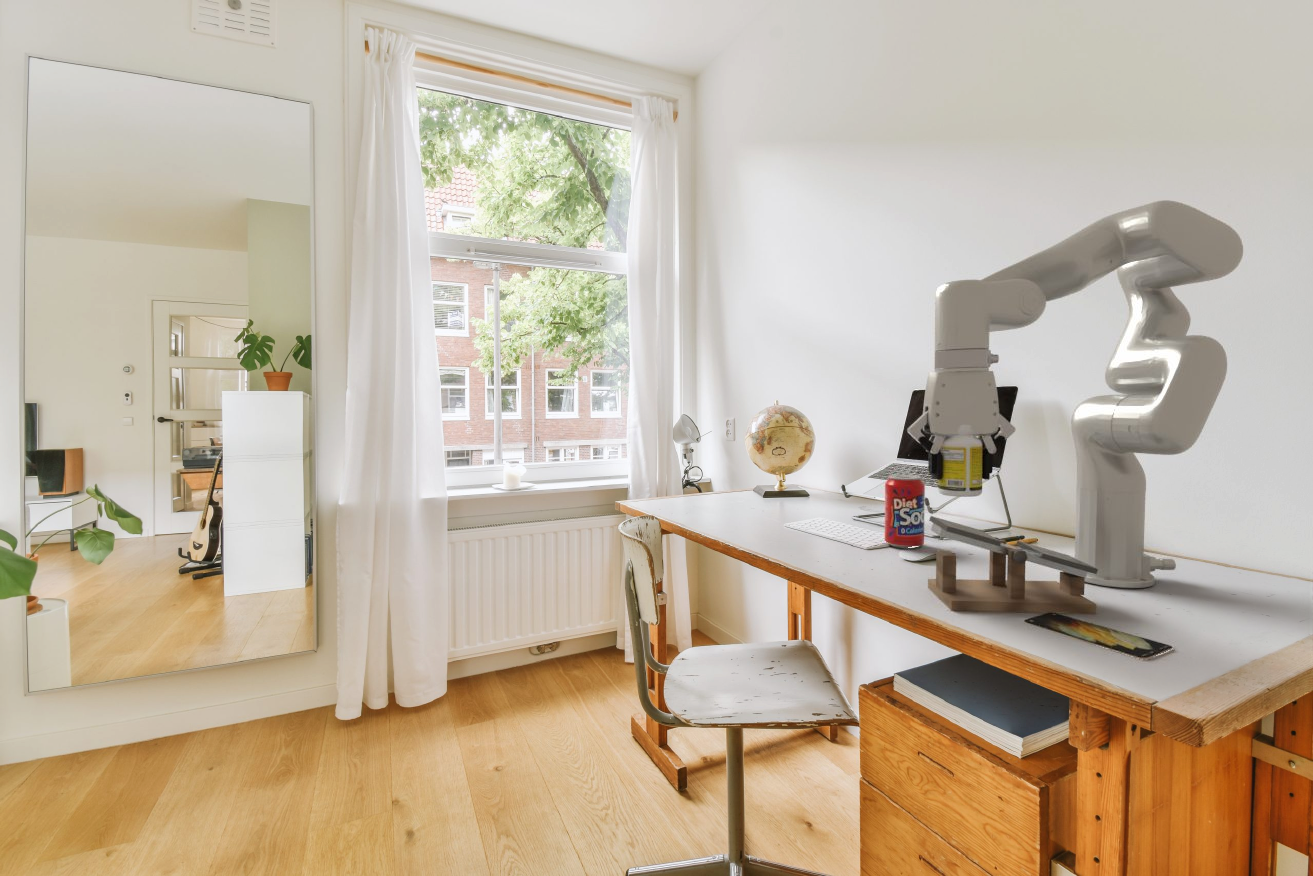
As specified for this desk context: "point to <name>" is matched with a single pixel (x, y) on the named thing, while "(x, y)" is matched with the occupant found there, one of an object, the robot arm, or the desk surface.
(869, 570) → the desk surface
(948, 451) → the pill bottle
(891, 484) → the soda can
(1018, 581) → the stand
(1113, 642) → the smartphone
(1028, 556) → the beam
